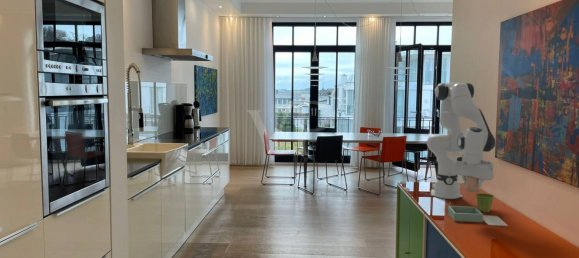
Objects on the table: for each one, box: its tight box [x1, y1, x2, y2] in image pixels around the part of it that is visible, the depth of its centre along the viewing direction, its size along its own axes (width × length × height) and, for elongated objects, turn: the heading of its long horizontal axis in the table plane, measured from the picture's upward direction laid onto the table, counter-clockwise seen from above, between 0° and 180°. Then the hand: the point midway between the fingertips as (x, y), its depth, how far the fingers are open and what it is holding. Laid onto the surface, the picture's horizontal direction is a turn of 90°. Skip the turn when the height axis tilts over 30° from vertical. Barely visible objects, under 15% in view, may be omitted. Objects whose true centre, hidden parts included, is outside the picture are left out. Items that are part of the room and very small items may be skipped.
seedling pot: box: [465, 176, 480, 193], centre depth 217 cm, size 6×6×8 cm
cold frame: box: [447, 205, 484, 223], centre depth 220 cm, size 14×14×4 cm
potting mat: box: [483, 214, 509, 227], centre depth 215 cm, size 16×9×1 cm, turn 171°
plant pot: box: [475, 192, 495, 213], centre depth 232 cm, size 9×9×9 cm
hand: (472, 185), depth 217 cm, fingers closed on seedling pot, 6 cm apart
